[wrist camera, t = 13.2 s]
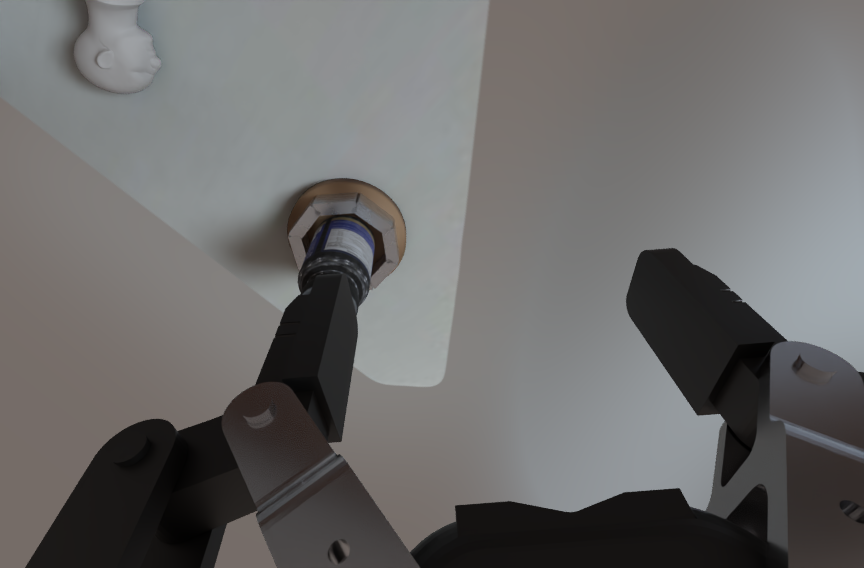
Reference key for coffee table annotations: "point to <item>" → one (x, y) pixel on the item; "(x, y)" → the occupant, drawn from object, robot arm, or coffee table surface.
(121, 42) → the white head bust
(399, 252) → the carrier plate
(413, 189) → the coffee table surface
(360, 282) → the pill bottle
